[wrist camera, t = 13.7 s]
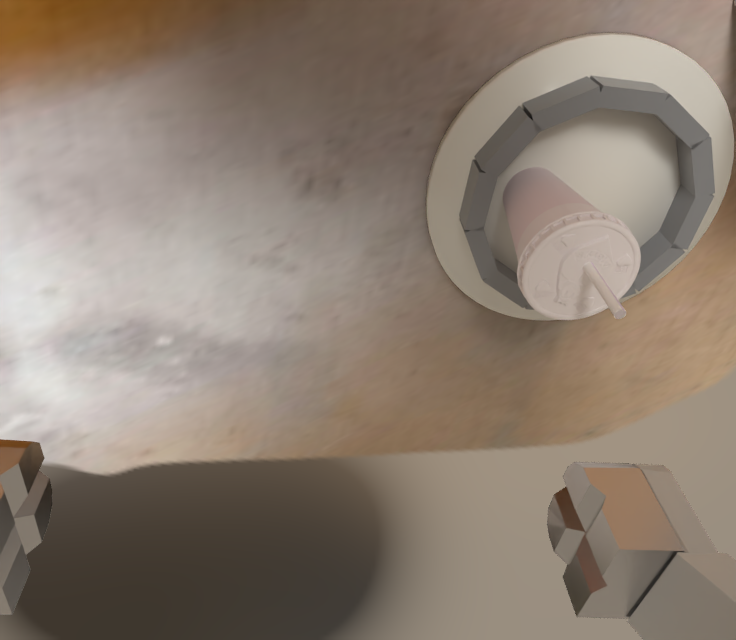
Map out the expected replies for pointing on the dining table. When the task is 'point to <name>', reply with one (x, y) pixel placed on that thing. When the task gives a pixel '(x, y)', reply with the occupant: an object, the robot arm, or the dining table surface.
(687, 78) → the ring plate
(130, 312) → the dining table surface
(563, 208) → the smoothie
